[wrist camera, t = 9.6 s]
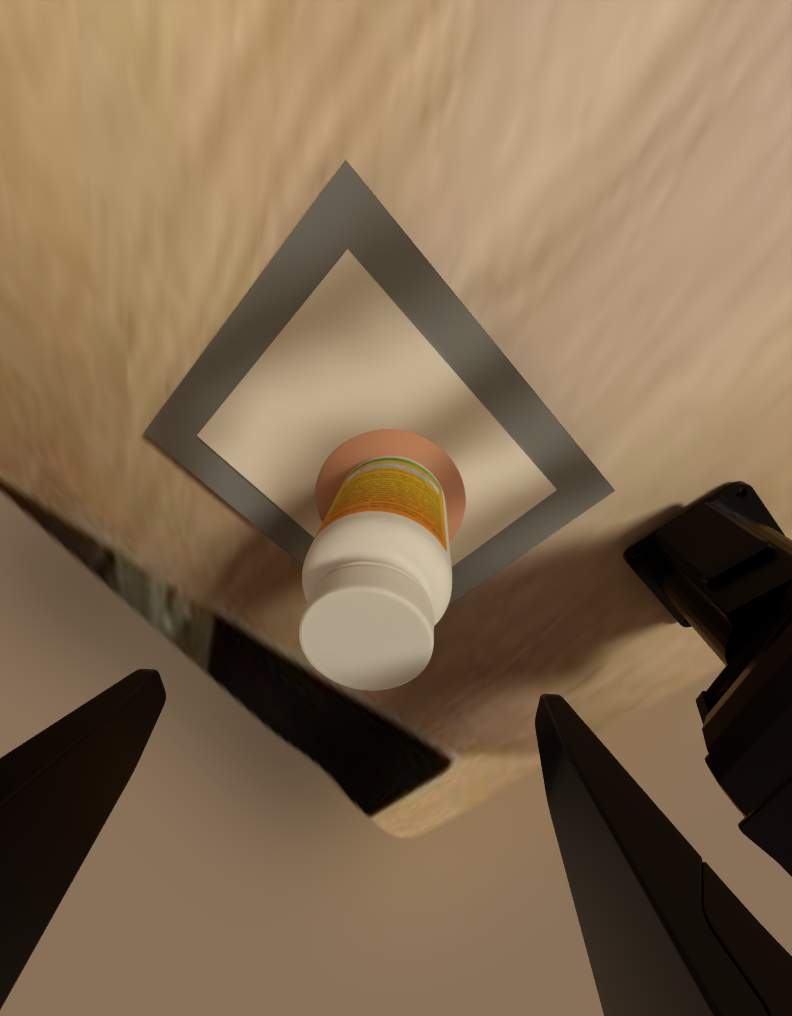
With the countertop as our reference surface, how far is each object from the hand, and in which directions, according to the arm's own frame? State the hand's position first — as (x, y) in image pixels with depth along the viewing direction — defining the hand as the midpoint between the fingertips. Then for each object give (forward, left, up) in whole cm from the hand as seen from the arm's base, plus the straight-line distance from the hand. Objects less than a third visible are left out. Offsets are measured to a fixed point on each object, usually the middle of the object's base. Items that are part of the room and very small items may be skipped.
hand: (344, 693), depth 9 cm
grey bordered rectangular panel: (+2, -1, -13) cm, 13 cm away
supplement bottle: (-1, 0, -12) cm, 12 cm away
